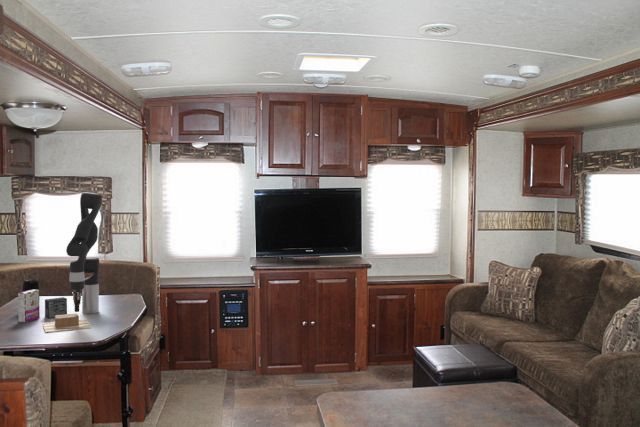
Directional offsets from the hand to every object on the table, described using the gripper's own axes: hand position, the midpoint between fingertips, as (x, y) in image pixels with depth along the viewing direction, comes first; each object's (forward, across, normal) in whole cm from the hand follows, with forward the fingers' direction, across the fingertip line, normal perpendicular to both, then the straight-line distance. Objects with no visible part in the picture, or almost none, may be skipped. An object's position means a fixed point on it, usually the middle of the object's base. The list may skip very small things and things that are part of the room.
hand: (76, 311), depth 291 cm
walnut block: (+4, 0, 0) cm, 4 cm away
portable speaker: (+8, +47, +20) cm, 52 cm away
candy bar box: (+8, +24, +22) cm, 34 cm away
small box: (+8, +27, +8) cm, 29 cm away
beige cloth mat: (+8, 0, +5) cm, 9 cm away
